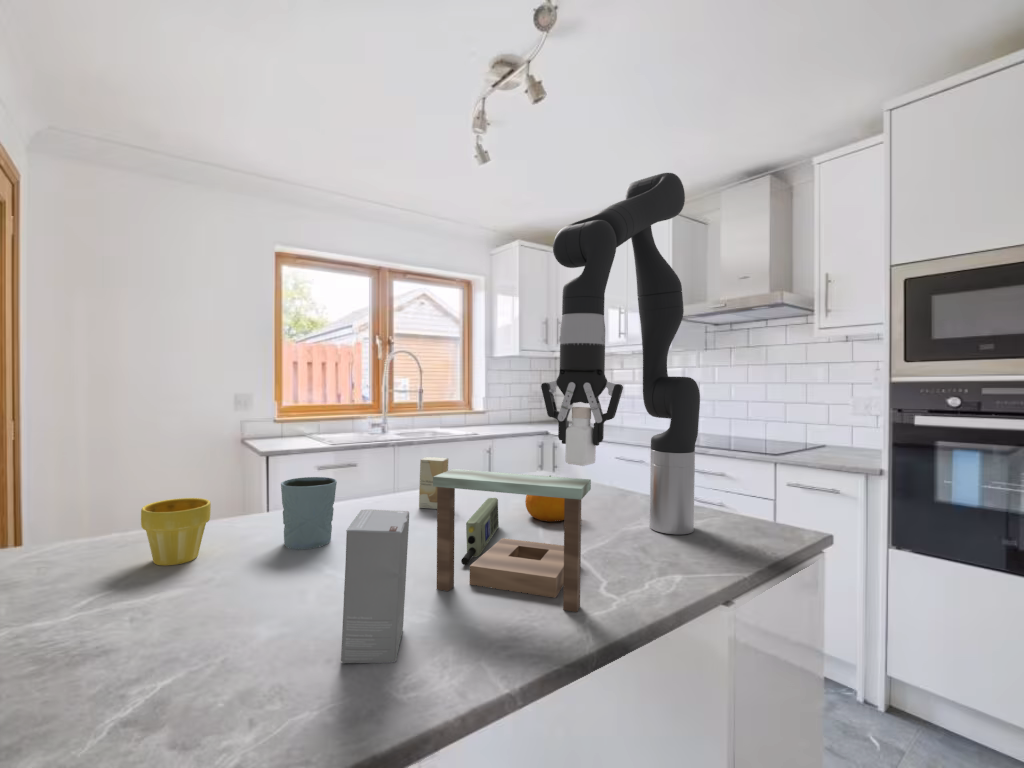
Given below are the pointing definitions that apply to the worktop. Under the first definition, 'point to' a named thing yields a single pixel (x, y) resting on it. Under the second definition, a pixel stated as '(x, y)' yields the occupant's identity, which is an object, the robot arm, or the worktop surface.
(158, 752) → the worktop surface
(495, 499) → the handheld radio
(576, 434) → the pepper shaker
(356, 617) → the skincare box
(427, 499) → the skincare box
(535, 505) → the fruit
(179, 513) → the plant pot
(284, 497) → the teal cup
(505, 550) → the stand
